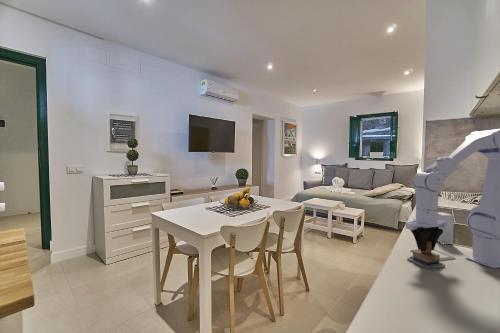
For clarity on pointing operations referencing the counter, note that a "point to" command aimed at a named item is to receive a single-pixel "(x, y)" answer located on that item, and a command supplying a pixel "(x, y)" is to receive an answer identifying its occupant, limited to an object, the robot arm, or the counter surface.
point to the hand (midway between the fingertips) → (425, 249)
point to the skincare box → (446, 228)
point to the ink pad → (425, 265)
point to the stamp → (426, 254)
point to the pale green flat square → (442, 255)
